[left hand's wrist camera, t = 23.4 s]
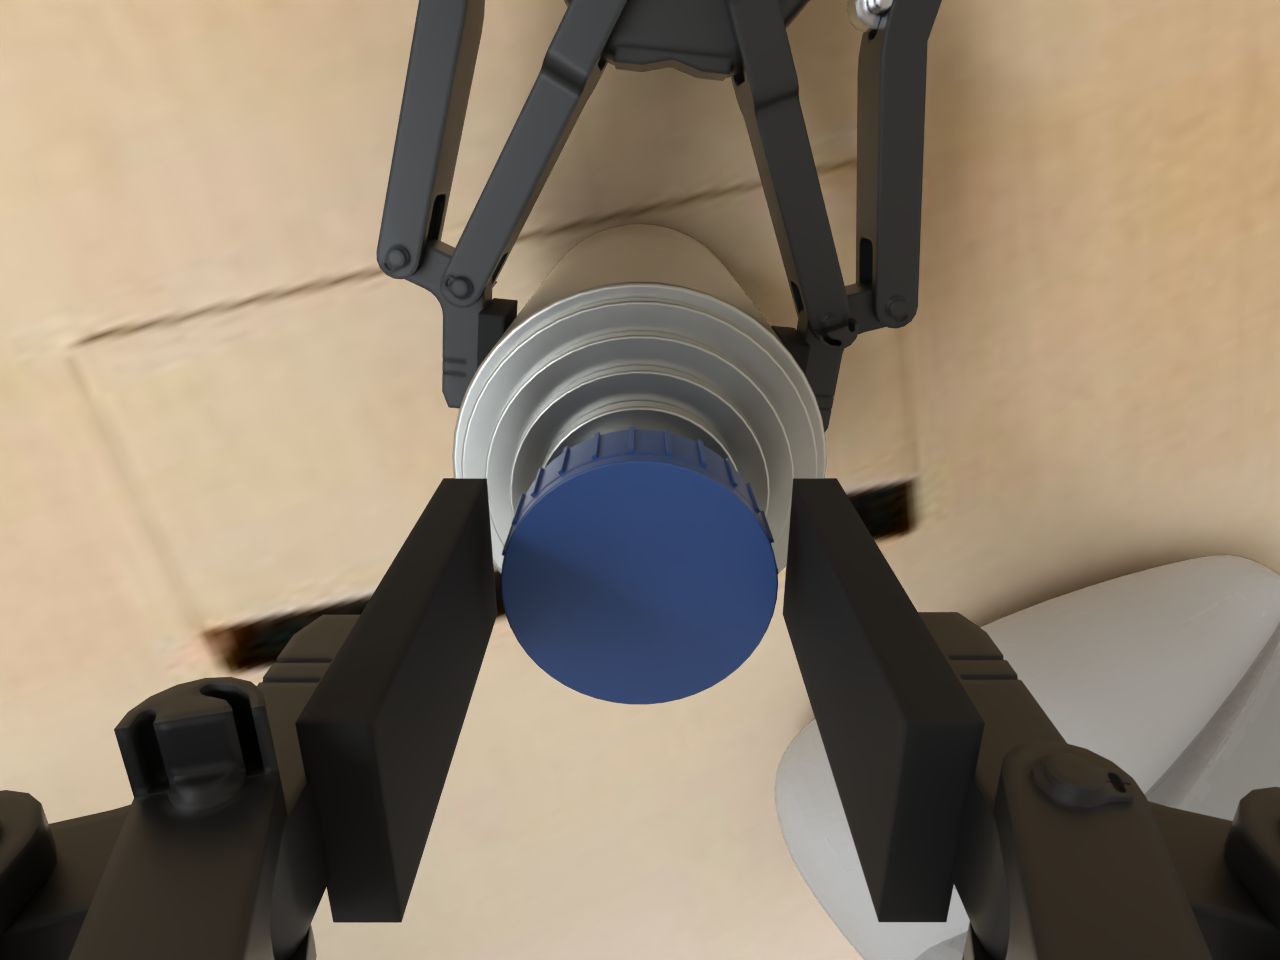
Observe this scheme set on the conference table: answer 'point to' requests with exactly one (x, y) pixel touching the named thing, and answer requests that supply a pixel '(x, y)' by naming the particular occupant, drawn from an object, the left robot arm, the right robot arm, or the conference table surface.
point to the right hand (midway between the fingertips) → (626, 512)
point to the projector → (1091, 719)
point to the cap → (639, 568)
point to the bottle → (639, 374)
